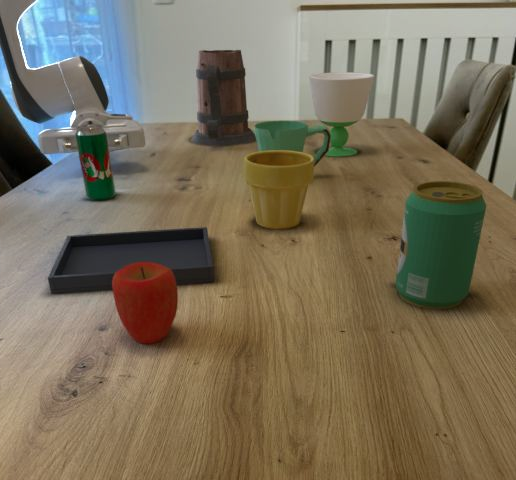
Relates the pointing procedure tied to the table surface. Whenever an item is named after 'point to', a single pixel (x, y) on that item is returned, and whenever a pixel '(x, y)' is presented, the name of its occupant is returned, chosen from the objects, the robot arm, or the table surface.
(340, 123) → the cup
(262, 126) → the mug
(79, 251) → the tray
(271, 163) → the flower pot
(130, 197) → the table surface
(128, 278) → the apple
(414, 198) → the beverage can
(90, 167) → the soda can
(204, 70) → the tankard
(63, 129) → the robot arm
